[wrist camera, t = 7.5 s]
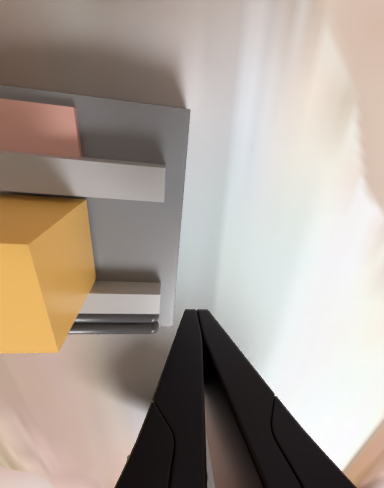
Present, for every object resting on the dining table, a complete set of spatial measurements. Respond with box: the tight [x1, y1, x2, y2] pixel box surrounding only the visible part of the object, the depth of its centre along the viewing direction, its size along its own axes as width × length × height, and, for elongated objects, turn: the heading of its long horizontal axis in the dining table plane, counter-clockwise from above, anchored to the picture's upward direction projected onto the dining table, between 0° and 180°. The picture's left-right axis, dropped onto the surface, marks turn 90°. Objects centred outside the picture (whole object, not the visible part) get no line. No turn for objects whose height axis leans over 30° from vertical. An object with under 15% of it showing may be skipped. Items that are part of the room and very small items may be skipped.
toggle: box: [0, 193, 96, 353], centre depth 10 cm, size 4×5×5 cm
